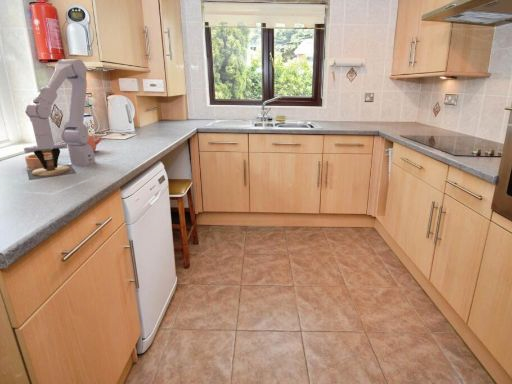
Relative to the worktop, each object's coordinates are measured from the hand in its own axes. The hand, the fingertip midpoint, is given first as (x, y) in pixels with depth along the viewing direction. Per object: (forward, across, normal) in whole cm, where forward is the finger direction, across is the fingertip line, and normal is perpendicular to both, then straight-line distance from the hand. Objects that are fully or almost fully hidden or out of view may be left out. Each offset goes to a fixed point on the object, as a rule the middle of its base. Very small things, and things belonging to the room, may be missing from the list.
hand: (50, 168), depth 132 cm
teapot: (+2, -22, -32) cm, 39 cm away
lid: (+2, 0, 0) cm, 2 cm away
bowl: (+2, 0, -15) cm, 15 cm away
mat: (+2, 0, 0) cm, 2 cm away
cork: (+2, -5, -37) cm, 38 cm away
